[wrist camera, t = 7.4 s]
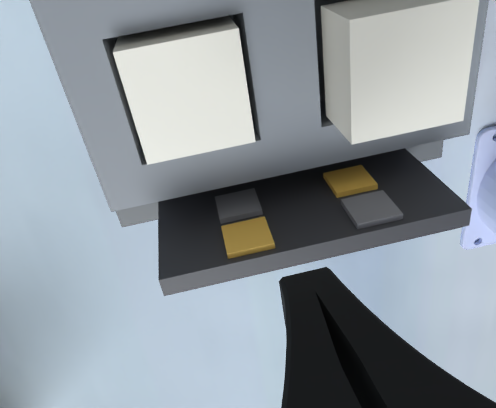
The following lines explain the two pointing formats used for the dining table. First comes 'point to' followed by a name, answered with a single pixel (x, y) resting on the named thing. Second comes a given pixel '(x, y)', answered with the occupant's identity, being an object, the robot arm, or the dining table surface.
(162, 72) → the button
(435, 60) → the button
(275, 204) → the button board
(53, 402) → the dining table surface
